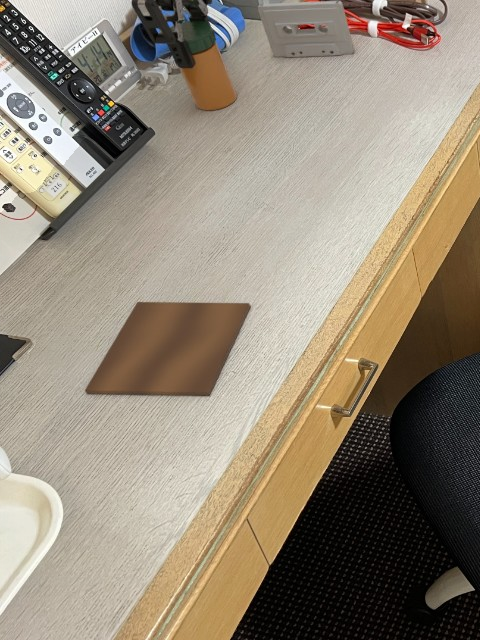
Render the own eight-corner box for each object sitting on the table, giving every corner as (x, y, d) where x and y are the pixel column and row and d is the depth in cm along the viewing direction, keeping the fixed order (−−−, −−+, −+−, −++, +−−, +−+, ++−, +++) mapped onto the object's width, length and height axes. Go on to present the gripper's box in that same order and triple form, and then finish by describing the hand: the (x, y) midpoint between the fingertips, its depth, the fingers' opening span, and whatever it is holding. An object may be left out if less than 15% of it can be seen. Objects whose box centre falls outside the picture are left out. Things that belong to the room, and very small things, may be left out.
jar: (189, 111, 112) (160, 45, 105) (203, 89, 116) (175, 25, 109) (229, 110, 112) (203, 44, 105) (242, 88, 116) (217, 23, 109)
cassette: (355, 49, 123) (342, -2, 117) (353, 55, 122) (340, 4, 116) (275, 52, 123) (258, 2, 117) (272, 58, 122) (255, 8, 116)
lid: (171, 58, 105) (165, 45, 104) (167, 38, 109) (162, 26, 108) (218, 48, 107) (213, 35, 106) (213, 29, 111) (208, 16, 109)
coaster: (86, 393, 78) (84, 390, 78) (139, 305, 87) (137, 301, 86) (209, 395, 78) (207, 392, 78) (250, 306, 86) (249, 302, 86)
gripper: (144, -53, 92) (202, 83, 104) (199, -101, 102) (246, 29, 114) (81, -54, 92) (146, 82, 105) (141, -101, 102) (194, 28, 115)
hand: (197, 54), depth 109 cm, fingers closed on lid, 5 cm apart
